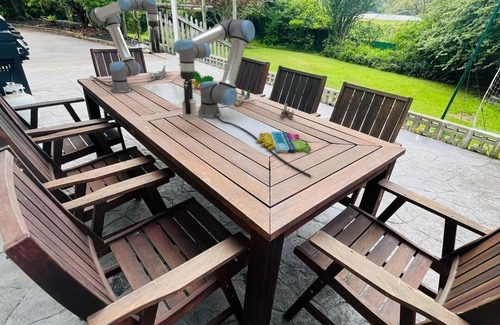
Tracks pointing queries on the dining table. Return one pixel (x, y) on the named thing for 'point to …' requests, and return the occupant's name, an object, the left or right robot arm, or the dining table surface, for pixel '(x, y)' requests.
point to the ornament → (199, 80)
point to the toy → (243, 98)
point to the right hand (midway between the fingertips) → (189, 111)
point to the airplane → (158, 75)
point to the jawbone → (287, 112)
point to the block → (193, 110)
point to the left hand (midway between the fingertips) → (156, 50)
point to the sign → (283, 142)
